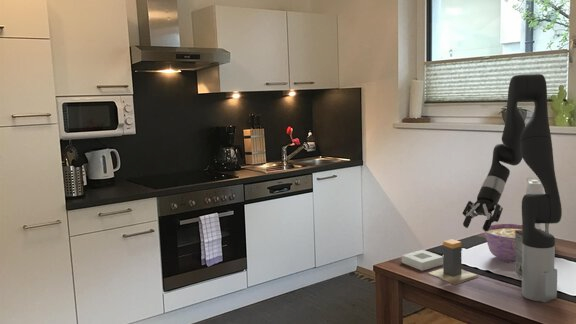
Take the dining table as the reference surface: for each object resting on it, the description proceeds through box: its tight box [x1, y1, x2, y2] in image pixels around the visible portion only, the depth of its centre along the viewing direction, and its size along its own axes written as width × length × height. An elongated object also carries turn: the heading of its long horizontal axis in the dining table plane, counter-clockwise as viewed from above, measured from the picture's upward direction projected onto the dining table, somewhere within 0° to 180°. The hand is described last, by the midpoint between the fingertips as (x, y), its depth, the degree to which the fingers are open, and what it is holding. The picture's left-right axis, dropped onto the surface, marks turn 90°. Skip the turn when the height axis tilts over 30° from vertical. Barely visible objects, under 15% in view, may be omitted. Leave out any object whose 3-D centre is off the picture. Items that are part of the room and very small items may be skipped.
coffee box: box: [514, 229, 545, 279], centre depth 178 cm, size 9×6×16 cm
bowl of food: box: [484, 223, 522, 264], centre depth 196 cm, size 20×20×12 cm
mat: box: [427, 267, 478, 286], centre depth 183 cm, size 12×12×1 cm
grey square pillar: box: [442, 238, 463, 277], centre depth 182 cm, size 4×4×12 cm
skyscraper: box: [525, 177, 550, 234], centre depth 216 cm, size 8×8×28 cm
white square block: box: [401, 249, 443, 271], centre depth 196 cm, size 11×11×4 cm
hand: (474, 228), depth 185 cm, fingers open, 8 cm apart
